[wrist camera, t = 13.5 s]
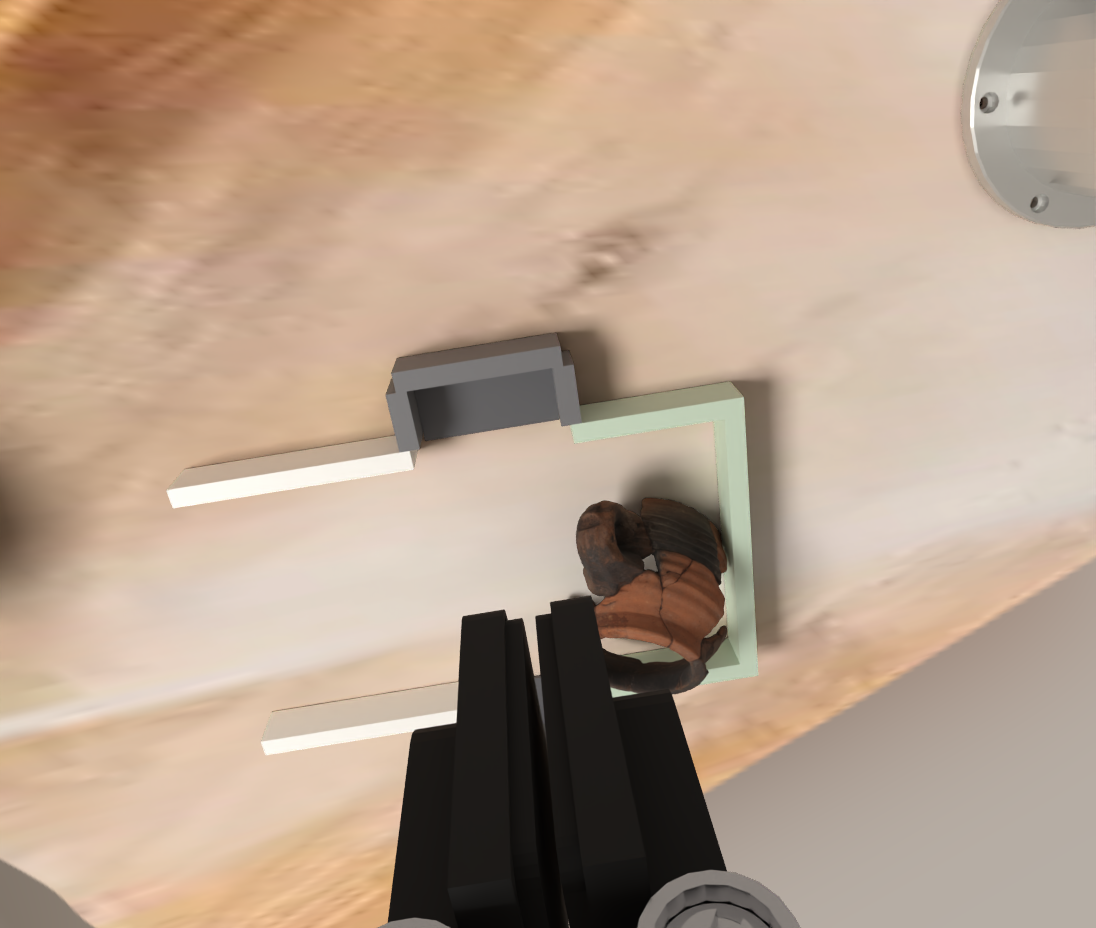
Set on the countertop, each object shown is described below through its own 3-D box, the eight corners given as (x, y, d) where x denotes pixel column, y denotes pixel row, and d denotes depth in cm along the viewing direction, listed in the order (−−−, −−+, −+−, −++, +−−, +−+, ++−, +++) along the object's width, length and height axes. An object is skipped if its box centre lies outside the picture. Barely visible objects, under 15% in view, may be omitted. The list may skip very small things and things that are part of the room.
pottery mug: (759, 563, 47) (755, 697, 42) (618, 588, 52) (599, 710, 47) (664, 433, 40) (645, 574, 35) (511, 475, 45) (475, 604, 40)
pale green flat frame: (725, 305, 40) (739, 317, 38) (748, 701, 51) (761, 729, 48) (157, 396, 40) (137, 413, 38) (294, 774, 51) (284, 806, 48)
